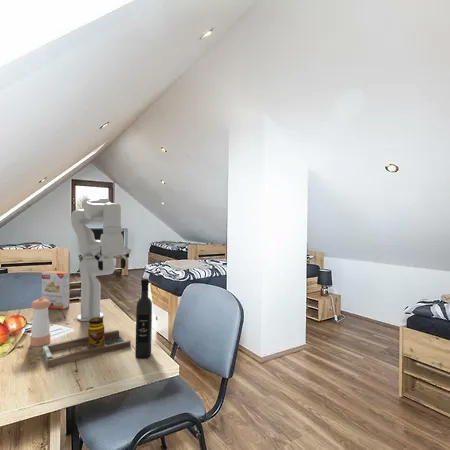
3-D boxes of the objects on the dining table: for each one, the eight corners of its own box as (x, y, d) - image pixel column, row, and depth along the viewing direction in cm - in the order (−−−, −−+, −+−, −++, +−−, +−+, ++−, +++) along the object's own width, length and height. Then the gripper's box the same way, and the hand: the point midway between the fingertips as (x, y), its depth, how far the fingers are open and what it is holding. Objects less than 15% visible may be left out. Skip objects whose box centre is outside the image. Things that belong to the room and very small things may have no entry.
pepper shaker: (38, 347, 126) (39, 300, 125) (26, 344, 128) (26, 298, 128) (54, 341, 133) (54, 296, 132) (41, 338, 135) (42, 294, 135)
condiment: (96, 353, 122) (96, 323, 121) (80, 349, 125) (79, 320, 124) (109, 345, 129) (109, 317, 128) (93, 342, 132) (93, 314, 131)
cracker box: (40, 308, 178) (41, 272, 178) (48, 305, 184) (48, 270, 184) (62, 310, 176) (63, 273, 175) (69, 307, 182) (70, 271, 181)
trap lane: (41, 352, 122) (41, 344, 121) (117, 335, 140) (117, 329, 140) (48, 367, 110) (48, 359, 110) (130, 347, 129) (130, 339, 128)
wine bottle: (150, 358, 119) (151, 280, 118) (135, 359, 118) (136, 280, 117) (151, 352, 124) (152, 277, 124) (136, 352, 123) (138, 277, 123)
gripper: (127, 230, 147) (127, 266, 147) (89, 231, 136) (89, 270, 136) (133, 230, 141) (134, 268, 141) (94, 231, 130) (94, 271, 130)
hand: (112, 269), depth 138 cm, fingers open, 9 cm apart
